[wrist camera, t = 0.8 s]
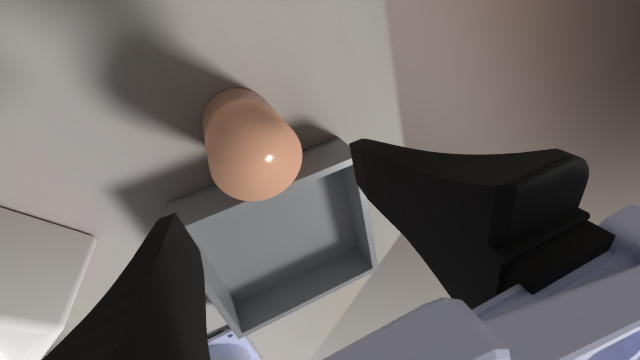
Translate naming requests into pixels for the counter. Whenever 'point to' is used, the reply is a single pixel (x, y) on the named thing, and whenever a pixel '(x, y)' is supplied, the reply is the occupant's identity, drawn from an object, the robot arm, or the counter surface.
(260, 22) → the counter surface
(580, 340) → the robot arm
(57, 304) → the pale grey tall block
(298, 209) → the bin
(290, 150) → the peach rounded cylinder
